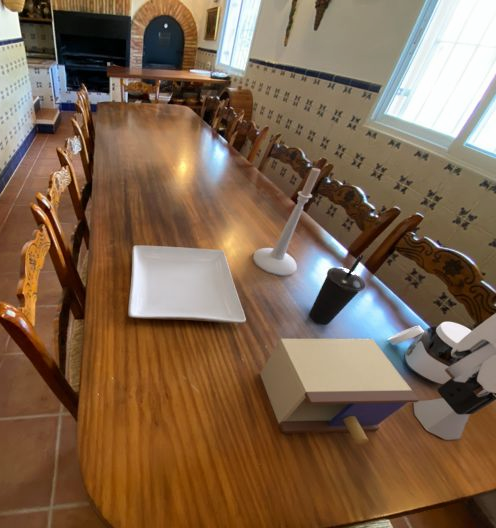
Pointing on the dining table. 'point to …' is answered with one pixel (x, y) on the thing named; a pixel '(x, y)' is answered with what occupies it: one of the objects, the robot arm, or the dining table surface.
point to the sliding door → (363, 417)
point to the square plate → (183, 285)
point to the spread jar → (431, 349)
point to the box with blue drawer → (328, 381)
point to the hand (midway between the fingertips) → (452, 402)
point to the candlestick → (285, 237)
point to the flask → (440, 418)
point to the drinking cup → (336, 293)
